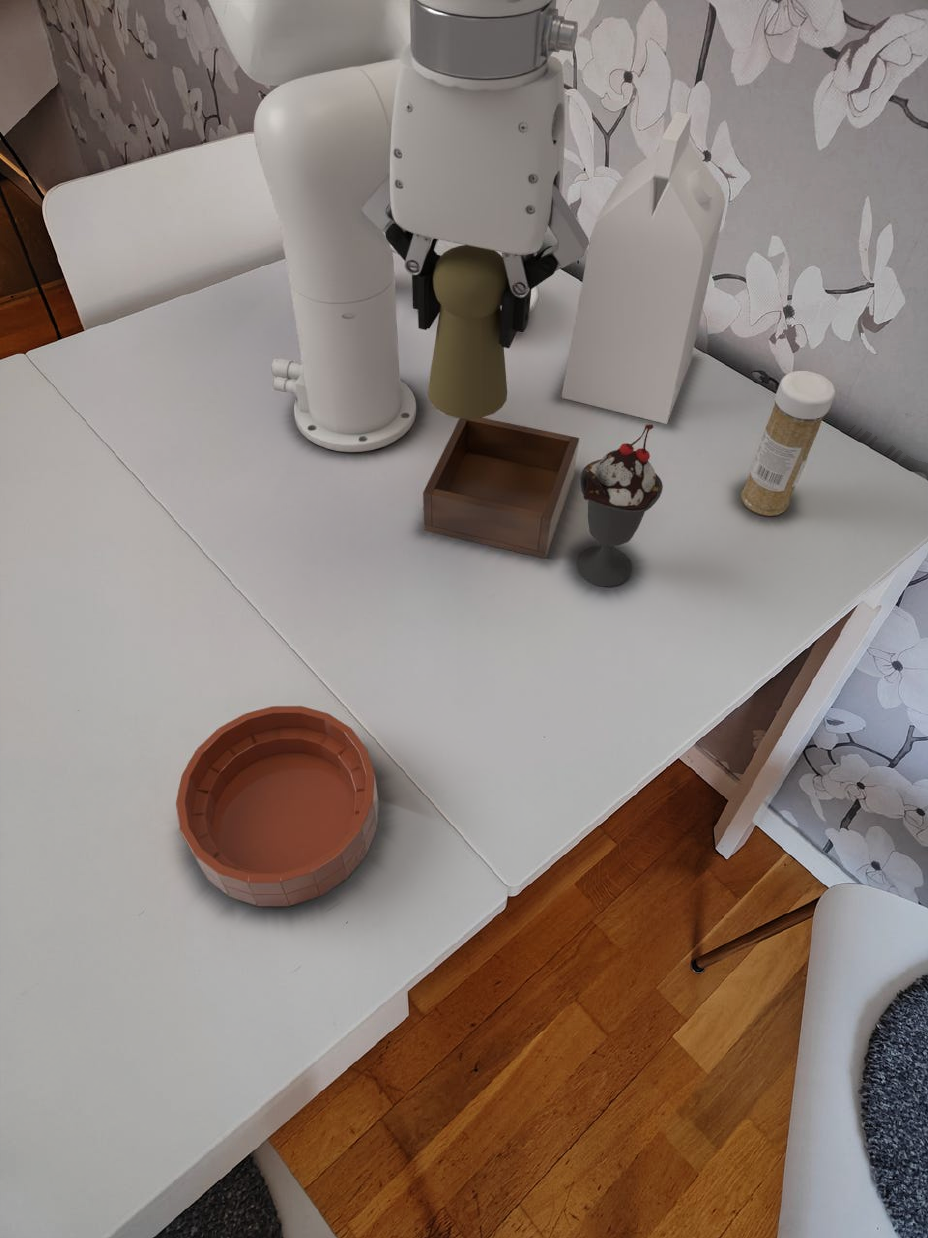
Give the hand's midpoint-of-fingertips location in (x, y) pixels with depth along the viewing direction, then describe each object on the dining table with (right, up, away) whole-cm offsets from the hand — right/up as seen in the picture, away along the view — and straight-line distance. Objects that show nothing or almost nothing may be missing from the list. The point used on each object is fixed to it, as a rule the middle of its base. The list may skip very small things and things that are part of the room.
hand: (469, 325), depth 61 cm
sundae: (+12, -16, +17) cm, 26 cm away
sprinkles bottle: (+28, -9, +23) cm, 38 cm away
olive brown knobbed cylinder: (0, -4, +5) cm, 6 cm away
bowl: (-13, -35, +1) cm, 37 cm away
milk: (+18, +6, +34) cm, 39 cm away
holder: (+3, -9, +22) cm, 24 cm away
